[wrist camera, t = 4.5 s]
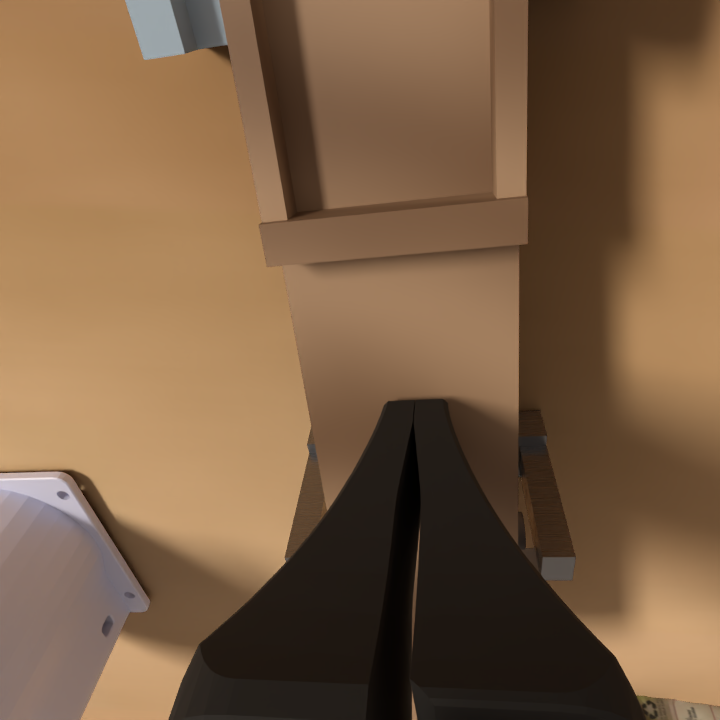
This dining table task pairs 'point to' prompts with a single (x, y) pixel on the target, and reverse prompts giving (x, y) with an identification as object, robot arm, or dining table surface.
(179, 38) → the shallow blue tray
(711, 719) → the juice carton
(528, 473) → the fulcrum
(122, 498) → the dining table surface
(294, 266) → the lever
